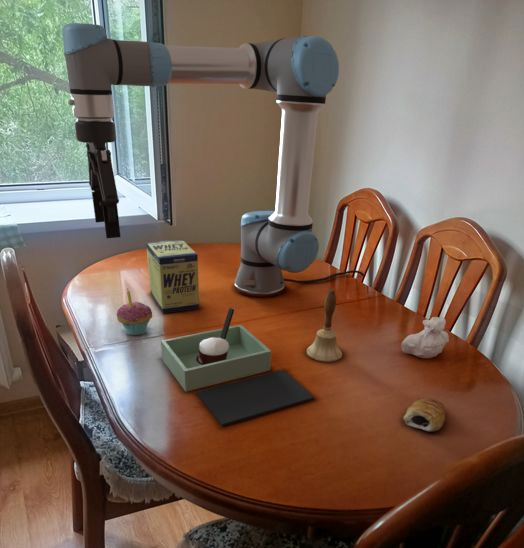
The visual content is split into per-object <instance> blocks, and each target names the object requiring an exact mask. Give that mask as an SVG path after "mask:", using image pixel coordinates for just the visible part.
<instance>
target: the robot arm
mask: <svg viewBox="0 0 524 548" xmlns="http://www.w3.org/2000/svg"><path fill="white" fill-rule="evenodd" d="M62 43H63V55H64V59H65V66H66V72H67V79H68V85H69V92H70V98H71V99H68V100H67V104H68V105H69V106H72V116H73V117H74V118H76V120H74V122H73V125H74V132H75V139H76V140H77V141H78V142H79V143H85V147H86V157H87V166H88V168H87V169H88V185H89V187H90V190H91V197H92V204H93V213H94V219H95V223H104V230H105V237H106V239H117V238H121V228H120V222H119V221H120V220H119V210H118V204H119V203H120V199H119V195H118V189H117V184H116V180H115V179H116V178H115V174H114V170H113V161H112V152H111V150H110V149H107V146H106V144H107V143H109V144H110V143H115V142H116V141H117V131H116V123H115V122H114V120H112V119H114V118H115V109H114V99H113V91H112V86H130V87H152V88H155V87H165V86H167V85H239V86H240V87H241V88H242V89H244V90H260V91H265V92H271V93H275V94H276V104H277V105H278V106H279V108H280V109H281V124H280V135H279V136H280V139H279V150H278V163H277V165H278V166H277V177H276V179H277V180H276V195H275V196H276V197H275V207H274V208H275V209H274V210H256V211H249V212H246V213H244V214H243V215H242V216H241V221H240V265H239V267H238V271H237V274H236V277H235V279H234V290H235V291H236V292H237V293H239V294H241V295H243V296H246V297H247V296H248V297H253V298H270V297H271V298H272V297H275V296H278V295H281V294H282V293H284V291H285V285H286V284H285V282H290V283H296V284H297V283H298V284H307V283H316V282H321V281H326V280H329V279H331V278H334V277H336V276H342V275H347V274H359V275H361V276H362V277H365V276H366V275H365V273H363V272H362V271H360V270H355V269H354V270H353V269H352V270H346V271H341V272H335V273H333V274H330V275H327V276H325V277H321V278H316V279H315V278H314V279H307V280H305V279H303V280H298V279H293V278H284V275H283V272H282V271H285V272H287V273H291V274H297V273H301V272H304V271H306V270H307V269H308V268H309V267H311V265H312V264H313V263H314V262H315V260H316V259H317V257H318V254H319V250H320V242H319V239H318V238H317V235H315V233H314V232H313V223H314V221H313V219H312V217H311V216H310V215H309V206H310V194H311V188H312V187H311V185H312V177H313V175H312V174H313V167H314V166H313V165H314V156H315V147H316V146H315V145H316V136H317V126H318V116H319V112H320V111H321V110H322V109H323V108H324V107H325V106H326V100H327V95H329V94H330V93H331V92H332V91H333V88H334V87H335V86H336V85H337V82H338V79H339V74H340V63H339V58H338V55H337V52H336V50H335V49H334V47H333V44H331V42H329V41H328V40H327V39H326V38H324V37H321V36H317V35H316V36H315V35H302V36H293V37H287V38H285V37H283V38H282V37H281V38H277V39H272V40H269V41H268V40H267V41H261V42H255V43H252V42H251V43H250V42H249V43H248V42H245V43H242V44H240V46H239V47H224V46H223V47H221V46H220V47H218V46H192V45H191V46H189V45H188V46H187V45H165V44H163V43H161V42H153V41H151V40H150V41H144V40H143V41H141V40H125V39H124V40H120V39H113V38H108V35H107V33H106V29H105V27H104V26H103V25H100V24H94V23H84V22H70V23H67V24H65V25H64V26H63V27H62Z"/></svg>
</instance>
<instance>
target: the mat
mask: <svg viewBox="0 0 524 548" xmlns="http://www.w3.org/2000/svg"><path fill="white" fill-rule="evenodd" d="M196 394H197V395H198V397H199V398H200V399H201V401H202V402H203V404H204V405H205V407H207V408H208V411H210V413H211V414H212V415H213V417H214V418H215V419H216V420H217V422H218V423H219V424H220V426H221V427H225V426H229V425H232V424H236V423H239V422H242V421H246V420H250V419H252V418H256V417H259V416H264V415H267V414H269V413H274V412H276V411H279V410H283V409H286V408H289V407H293V406H297V405H300V404H304V403H306V402H311V401H313V400H315V397H314V396H313V394H311V393H310V392H309V391H308V390H307V389H306V388H305V387H303V386H302V385H301V384H300V383H299V382H298V381H297V380H296V379H295V378H294V377H292V375H291V374H289V373H288V372H287V371H286V370H284V369H279V370H276V371H272V372H268V373H264V374H261V375H256V376H253V377H249V378H245V379H241V380H237V381H232V382H229V383H226V384H221V385H217V386H213V387H210V388H205V389H202V390H197V393H196Z"/></svg>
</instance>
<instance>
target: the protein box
mask: <svg viewBox="0 0 524 548" xmlns="http://www.w3.org/2000/svg"><path fill="white" fill-rule="evenodd" d="M145 245H146V258H147V270H148V280H149V281H148V282H149V293H150V296H151V298H153V301H154V302H155V304H156V305H157V307H158V308H159V310H160V311H161V313H162V314H163V315H164V314H169V313H170V314H171V313H177V312H185V311H191V310H199V309H200V291H199V289H200V288H199V287H200V286H199V285H200V284H199V258H198V253H197V252H196V251H194V249H192V248H191V246H189V245H188V244H187V243H186V241H184V240H183V239H172V240H160V241H159V240H158V241H147V242H146V244H145Z"/></svg>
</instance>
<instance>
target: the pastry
mask: <svg viewBox="0 0 524 548" xmlns="http://www.w3.org/2000/svg"><path fill="white" fill-rule="evenodd" d="M445 408H446V407H445V405H444V403H443V402H441V401H440V400H437V399H436V398H433V397H426V398H421V399H417V400H416V401H414V402H413V403H412V404H411V405H409V406H408V407H407V408H406V412H405V414H404V415H403V421H404V422H405V425H407V426H408V427H411V428H414V429H419V430H422V431H425V432H432V433H433V432H438V431H439V430H440V429H441V428H442V427H443V426H444V423H445V420H446V416H447V415H446V410H445Z"/></svg>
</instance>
